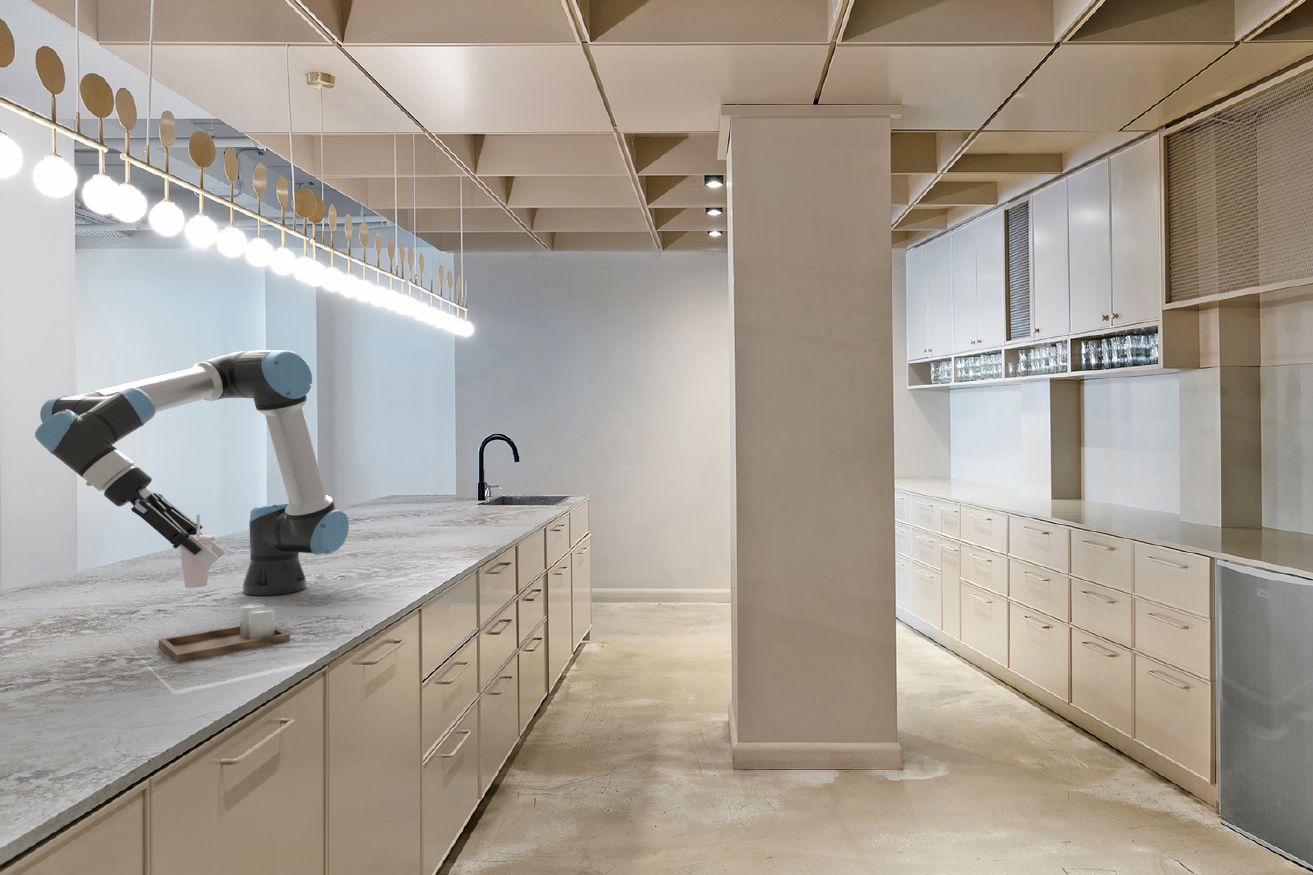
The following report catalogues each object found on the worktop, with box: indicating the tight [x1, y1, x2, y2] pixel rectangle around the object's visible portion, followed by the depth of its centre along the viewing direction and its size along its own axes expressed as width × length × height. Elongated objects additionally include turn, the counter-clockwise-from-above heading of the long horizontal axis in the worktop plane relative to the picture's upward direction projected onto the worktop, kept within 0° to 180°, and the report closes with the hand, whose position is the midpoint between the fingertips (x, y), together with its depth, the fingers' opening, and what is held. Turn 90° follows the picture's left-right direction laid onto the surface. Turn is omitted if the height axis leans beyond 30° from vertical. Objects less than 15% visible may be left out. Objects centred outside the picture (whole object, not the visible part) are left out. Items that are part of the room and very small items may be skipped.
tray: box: [158, 624, 291, 663], centre depth 153 cm, size 20×14×2 cm
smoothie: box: [178, 514, 215, 589], centre depth 149 cm, size 6×6×14 cm
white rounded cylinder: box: [239, 603, 266, 638], centre depth 159 cm, size 5×5×6 cm
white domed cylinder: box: [249, 607, 276, 640], centre depth 155 cm, size 5×5×6 cm
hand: (216, 559), depth 151 cm, fingers closed on smoothie, 6 cm apart
